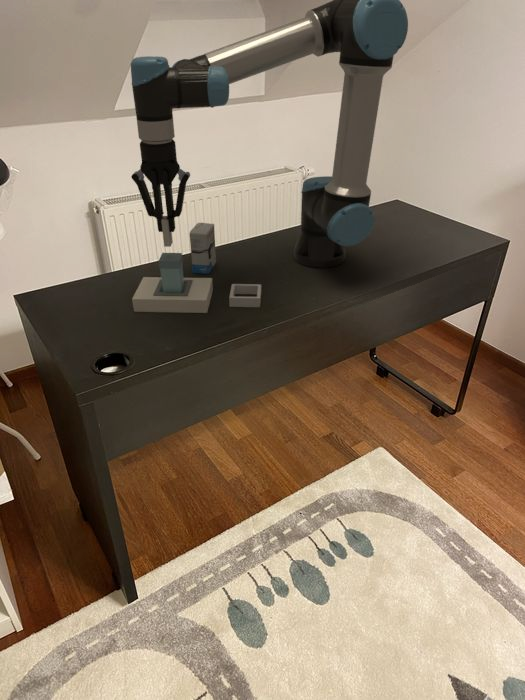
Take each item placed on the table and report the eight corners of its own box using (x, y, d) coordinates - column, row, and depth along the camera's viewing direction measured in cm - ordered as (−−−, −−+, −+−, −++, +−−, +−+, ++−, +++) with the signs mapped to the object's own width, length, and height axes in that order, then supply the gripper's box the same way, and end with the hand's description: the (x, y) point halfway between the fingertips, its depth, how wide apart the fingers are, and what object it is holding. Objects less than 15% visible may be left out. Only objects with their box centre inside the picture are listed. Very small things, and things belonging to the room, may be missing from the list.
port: (212, 290, 138) (212, 277, 136) (207, 312, 128) (206, 299, 126) (145, 289, 138) (143, 276, 136) (134, 311, 128) (131, 297, 126)
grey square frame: (261, 293, 136) (261, 284, 135) (260, 307, 130) (260, 298, 129) (232, 292, 137) (231, 283, 135) (229, 306, 130) (229, 297, 129)
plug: (186, 296, 135) (181, 252, 128) (183, 305, 131) (178, 261, 124) (167, 296, 135) (162, 252, 128) (163, 305, 131) (158, 260, 125)
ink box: (208, 274, 146) (206, 234, 139) (191, 273, 147) (188, 232, 140) (217, 262, 153) (214, 223, 146) (200, 260, 153) (198, 221, 147)
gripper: (190, 136, 114) (197, 238, 128) (131, 135, 115) (144, 238, 128) (184, 144, 108) (193, 251, 121) (122, 143, 109) (137, 250, 122)
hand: (168, 244), depth 125 cm, fingers closed
